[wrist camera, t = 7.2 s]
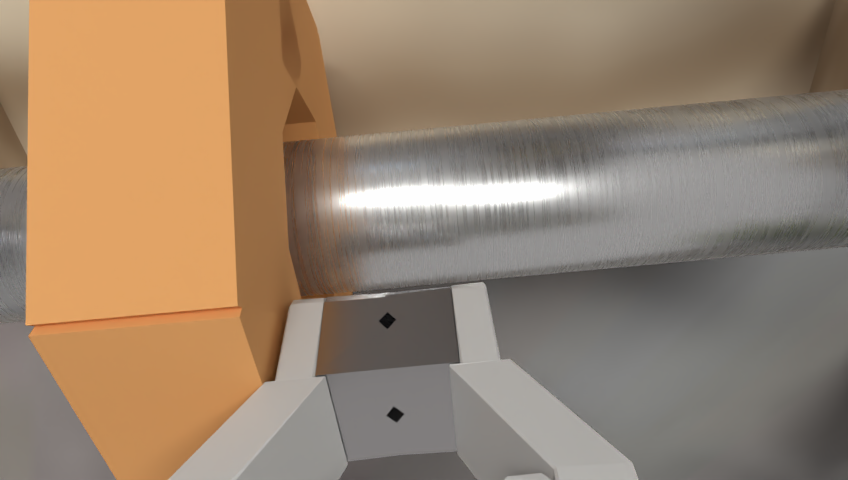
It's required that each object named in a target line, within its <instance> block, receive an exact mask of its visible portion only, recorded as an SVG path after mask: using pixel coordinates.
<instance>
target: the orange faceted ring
mask: <svg viewBox="0 0 848 480" xmlns="http://www.w3.org/2000/svg"><path fill="white" fill-rule="evenodd" d="M332 137H337V134H336V129H335V123H334V117H333V112H332V106H331V101H330V95H329V89H328V84H327V78H326V72H325V67H324V61H323V55H322V50H321V44H320V38H319V33H318V29H317V26H316V24H315V21H314V18H313V16H312V13H311V11H310V8H309V6H308V3H307V0H29V68H28V155H27V242H26V325H28V326H35V327H34V328H33V330H32V331H31V333H30V334H29V336H28V337H29V338H30V340H31V342H32V343H33V345H34V346H35V348H36V350H37V351H38V353H39V355H40V356H41V358H42V359H43V361H44V363H45V364H46V366H47V368H48V369H49V371H50V372H51V374H52V376H53V377H54V379H55V380H56V382H57V384H58V385H59V387H60V389H61V390H62V392H63V393H64V395H65V397H66V398H67V400H68V402H69V403H70V405H71V406H72V408H73V410H74V411H75V413H76V415H77V416H78V418H79V419H80V421H81V423H82V424H83V426H84V428H85V429H86V431H87V432H88V434H89V436H90V437H91V439H92V441H93V442H94V444H95V445H96V447H97V449H98V450H99V452H100V454H101V455H102V457H103V458H104V460H105V462H106V463H107V465H108V466H109V468H110V470H111V471H112V473H113V475H114V476H115V478H116V479H117V480H168V479H169V478H170V477H171V476H172V475H173V474H174V473H175V472H176V471H177V470H178V469H179V468H180V467H181V466H182V465H183V464H184V463H185V462H186V461H187V460H188V459H189V458H190V457H191V456H192V455H193V454H194V453H195V452H196V451H197V450H198V449H199V448H200V447H201V446H202V445H203V444H204V443H205V442H206V441H207V440H208V439H209V438H210V437H211V436H212V435H213V434H214V433H215V432H216V431H217V430H218V429H219V428H220V427H221V426H222V425H223V424H224V423H225V422H226V421H227V420H228V419H229V418H230V417H231V416H232V415H233V414H234V413H235V412H236V411H237V410H238V409H239V408H240V407H241V405H242V404H243V403H244V402H245V401H246V400H247V399H248V398H249V397H250V396H251V395H252V394H253V393H254V392H255V391H256V390H257V389H258V388H259V387H260V386H262V385H263V383H264V382H270V381H275V377H276V372H277V367H278V362H279V356H280V351H281V346H282V341H283V336H284V330H285V325H286V320H287V315H288V310H289V306H290V305H291V303H292V302H293V300H301V299H314V298H326V297H334V296H348V295H353V293H352V292H345V293H334V294H323V295H312V296H301V294H300V291H299V287H298V283H297V279H296V275H295V271H294V267H293V263H292V259H291V255H290V251H289V242H288V224H287V206H286V188H285V170H284V152H283V142H289V141H300V140H311V139H322V138H332Z"/></svg>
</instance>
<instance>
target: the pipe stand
mask: <svg viewBox="0 0 848 480" xmlns="http://www.w3.org/2000/svg"><path fill="white" fill-rule="evenodd" d="M307 3H308V6H309V8H310V11H311V13H312V16H313V18H314V21H315V24H316V26H317V29H318V33H319V38H320V44H321V50H322V55H323V61H324V67H325V72H326V78H327V84H328V89H329V95H330V101H331V106H332V112H333V117H334V123H335V129H336V134H337V137H343V136H354V135H364V134H375V133H386V132H396V131H407V130H418V129H429V128H439V127H450V126H461V125H471V124H482V123H493V122H504V121H514V120H525V119H536V118H546V117H557V116H568V115H578V114H589V113H600V112H611V111H621V110H632V109H643V108H653V107H664V106H675V105H686V104H696V103H707V102H718V101H728V100H739V99H750V98H760V97H771V96H782V95H793V94H803V93H814V92H825V91H835V90H846V89H848V0H307ZM28 68H29V0H0V168H11V167H22V166H27V155H28Z"/></svg>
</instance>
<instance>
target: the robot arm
mask: <svg viewBox="0 0 848 480" xmlns="http://www.w3.org/2000/svg"><path fill="white" fill-rule="evenodd" d="M455 451H457V454H458V456H459V457H460V458H461V460H462V461H463V462H464V463H465V465H466V466H467V467H468V469H469V470H470V471H471V472H472V474H473V475H474V476H475V478H476V479H477V480H638V477H637V474H636V471H635V468H634V466H633V463H632V462H631V461H630V460H629V459H628V458H626V457H625V456H624V455H623V454H622V453H620V452H619V451H618V450H617V449H616V448H615V447H613V446H612V445H611V444H610V443H609V442H608V441H606V440H605V439H604V438H603V437H602V436H601V435H599V434H598V433H597V432H596V431H595V430H593V429H592V428H591V427H590V426H589V425H588V424H586V423H585V422H584V421H583V420H582V419H581V418H579V417H578V416H577V415H576V414H575V413H574V412H572V411H571V410H570V409H569V408H568V407H566V406H565V405H564V404H563V403H562V402H561V401H559V400H558V399H557V398H556V397H555V396H554V395H552V394H551V393H550V392H549V391H548V390H547V389H545V388H544V387H543V386H542V385H541V384H539V383H538V382H537V381H536V380H535V379H534V378H532V377H531V376H530V375H529V374H528V373H527V372H525V371H524V370H523V369H522V368H521V367H520V366H518V365H517V364H516V363H515V362H514V361H512V360H511V359H504V360H501V359H500V354H499V349H498V344H497V339H496V334H495V329H494V324H493V319H492V314H491V309H490V304H489V298H488V293H487V288H486V285H485V284H484V283H483V282H477V283H469V284H460V285H452V286H451V289H450V286H449V287H440V288H430V289H420V290H410V291H400V292H389V293H375V294H361V295H348V296H334V297H326V298H314V299H301V300H293V302H292V303H291V305H290V306H289V310H288V315H287V320H286V325H285V330H284V336H283V341H282V346H281V351H280V356H279V362H278V367H277V372H276V377H275V381H270V382H264V383H263V385H262V386H260V387H259V388H258V389H257V390H256V391H255V392H254V393H253V394H252V395H251V396H250V397H249V398H248V399H247V400H246V401H245V402H244V403H243V404H242V405H241V407H240V408H239V409H238V410H237V411H236V412H235V413H234V414H233V415H232V416H231V417H230V418H229V419H228V420H227V421H226V422H225V423H224V424H223V425H222V426H221V427H220V428H219V429H218V430H217V431H216V432H215V433H214V434H213V435H212V436H211V437H210V438H209V439H208V440H207V441H206V442H205V443H204V444H203V445H202V446H201V447H200V448H199V449H198V450H197V451H196V452H195V453H194V454H193V455H192V456H191V457H190V458H189V459H188V460H187V461H186V462H185V463H184V464H183V465H182V466H181V467H180V468H179V469H178V470H177V471H176V472H175V473H174V474H173V475H172V476H171V477H170V478H169V479H168V480H339V478H340V477H341V475H342V474H343V472H344V470H345V469H346V467H347V466H348V463H347V461H356V460H364V459H372V458H381V457H389V456H397V455H409V454H425V453H440V452H455Z"/></svg>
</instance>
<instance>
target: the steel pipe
mask: <svg viewBox="0 0 848 480" xmlns="http://www.w3.org/2000/svg"><path fill="white" fill-rule="evenodd" d="M283 152H284V170H285V188H286V206H287V224H288V242H289V251H290V255H291V259H292V263H293V267H294V271H295V275H296V279H297V283H298V287H299V291H300V294H301V296H312V295H323V294H334V293H345V292H356V291H367V290H378V289H389V288H400V287H411V286H422V285H433V284H444V283H455V282H466V281H477V280H487V279H498V278H509V277H520V276H531V275H542V274H553V273H564V272H575V271H586V270H597V269H608V268H619V267H630V266H641V265H652V264H663V263H674V262H685V261H696V260H707V259H718V258H729V257H740V256H751V255H762V254H773V253H784V252H795V251H806V250H817V249H828V248H839V247H848V89H846V90H835V91H825V92H814V93H803V94H793V95H782V96H771V97H760V98H750V99H739V100H728V101H718V102H707V103H696V104H686V105H675V106H664V107H653V108H643V109H632V110H621V111H611V112H600V113H589V114H578V115H568V116H557V117H546V118H536V119H525V120H514V121H504V122H493V123H482V124H471V125H461V126H450V127H439V128H429V129H418V130H407V131H396V132H386V133H375V134H364V135H354V136H343V137H332V138H322V139H311V140H300V141H289V142H283ZM26 242H27V166H22V167H11V168H0V324H4V323H15V322H26Z"/></svg>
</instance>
